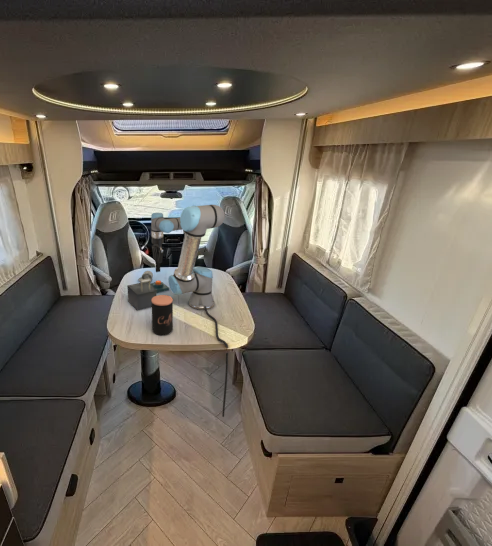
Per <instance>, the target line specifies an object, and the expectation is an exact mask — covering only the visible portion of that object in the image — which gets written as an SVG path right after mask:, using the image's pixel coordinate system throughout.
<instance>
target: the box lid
mask: <svg viewBox="0 0 492 546" xmlns="http://www.w3.org/2000/svg"><path fill="white" fill-rule="evenodd" d="M150 281H151V279H150V278H148V279H143V280H140V282H138V283H133V284H128V285H127V286H126V288H127V287H128V288H129V289H130V290H132V291H133V292H134V293H135V294H136V295H137V296H140V295H144V294H149V293H153V292H157V290H156V289H155V288H153V287H152V286H151V285H150V284H151V282H152V281H151V282H150ZM147 282H149V283H147Z"/></svg>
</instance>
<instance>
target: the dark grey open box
mask: <svg viewBox="0 0 492 546" xmlns="http://www.w3.org/2000/svg"><path fill="white" fill-rule="evenodd" d="M126 288H127V302H128V303H130V304H129V305H131V306H132V307H133V308H134V309H135V310H136V311H142V310H147V309H150V308H152V298H153V297H155V296H158V295H157V294H158V293H156V292H153V293H149V294H144V295H140V296H137V295H136V294H135V293H134V292H133V291H132V290H130V289H129V288H128V287H127V286H126Z"/></svg>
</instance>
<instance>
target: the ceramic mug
mask: <svg viewBox="0 0 492 546" xmlns="http://www.w3.org/2000/svg"><path fill="white" fill-rule="evenodd" d="M148 278H150V279H151V281H150V283H151V282H152V281H153V278H154V274H153V272H152V271H151V270H145V271H144V272H143V274H142V275H141V276H140V277H138V279H137V281H138V283H140V280H143V279H148ZM147 283H148V284H149V282H147Z"/></svg>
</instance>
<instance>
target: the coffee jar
mask: <svg viewBox="0 0 492 546" xmlns="http://www.w3.org/2000/svg"><path fill="white" fill-rule="evenodd" d="M173 304H174V303H173V297H172V296H170V295H167V294H158V295H157V296H155V297H153V298H152V307H151V330H152V332H153V334H155V335H157V336H161V337H162V336H167V335H170V334H171V333H172V332H173V330H174V324H173V323H174V321H173V320H174V305H173Z"/></svg>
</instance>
